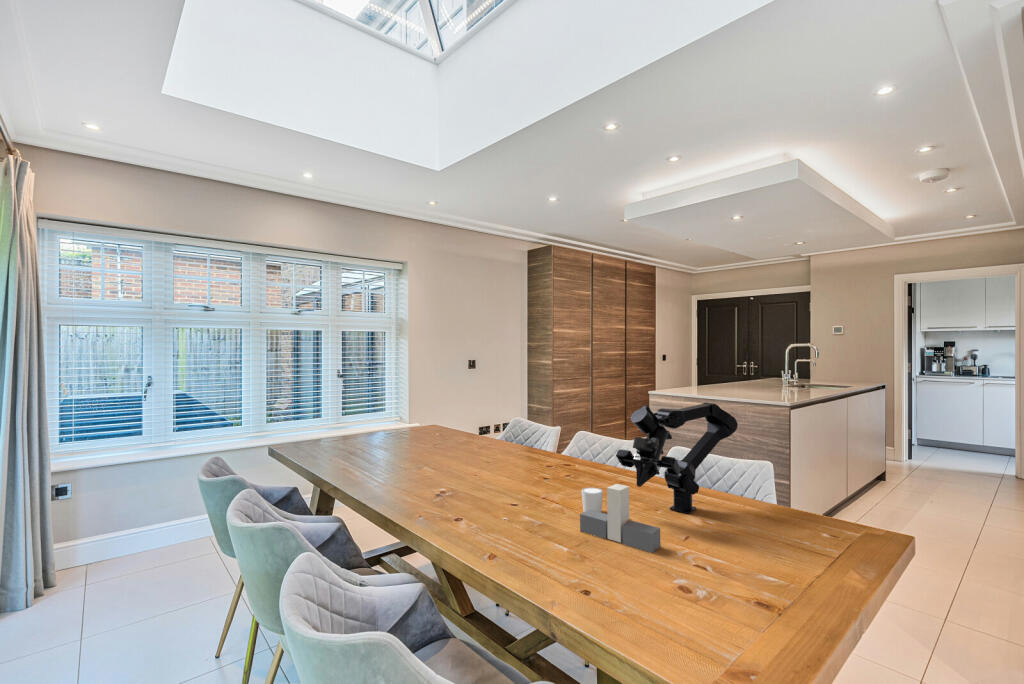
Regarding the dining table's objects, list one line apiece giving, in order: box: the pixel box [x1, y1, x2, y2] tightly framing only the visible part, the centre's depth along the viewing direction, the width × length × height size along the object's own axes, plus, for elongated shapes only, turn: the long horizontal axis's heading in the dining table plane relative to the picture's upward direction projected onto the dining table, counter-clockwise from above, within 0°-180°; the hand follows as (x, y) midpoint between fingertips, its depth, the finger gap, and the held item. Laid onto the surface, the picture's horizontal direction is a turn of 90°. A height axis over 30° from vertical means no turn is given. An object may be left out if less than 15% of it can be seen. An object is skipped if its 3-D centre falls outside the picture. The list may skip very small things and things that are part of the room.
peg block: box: [606, 483, 630, 544], centre depth 132 cm, size 5×4×14 cm
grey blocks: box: [579, 510, 662, 554], centre depth 132 cm, size 5×22×5 cm, turn 48°
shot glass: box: [581, 487, 604, 513], centre depth 154 cm, size 7×7×7 cm
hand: (638, 486), depth 141 cm, fingers closed
